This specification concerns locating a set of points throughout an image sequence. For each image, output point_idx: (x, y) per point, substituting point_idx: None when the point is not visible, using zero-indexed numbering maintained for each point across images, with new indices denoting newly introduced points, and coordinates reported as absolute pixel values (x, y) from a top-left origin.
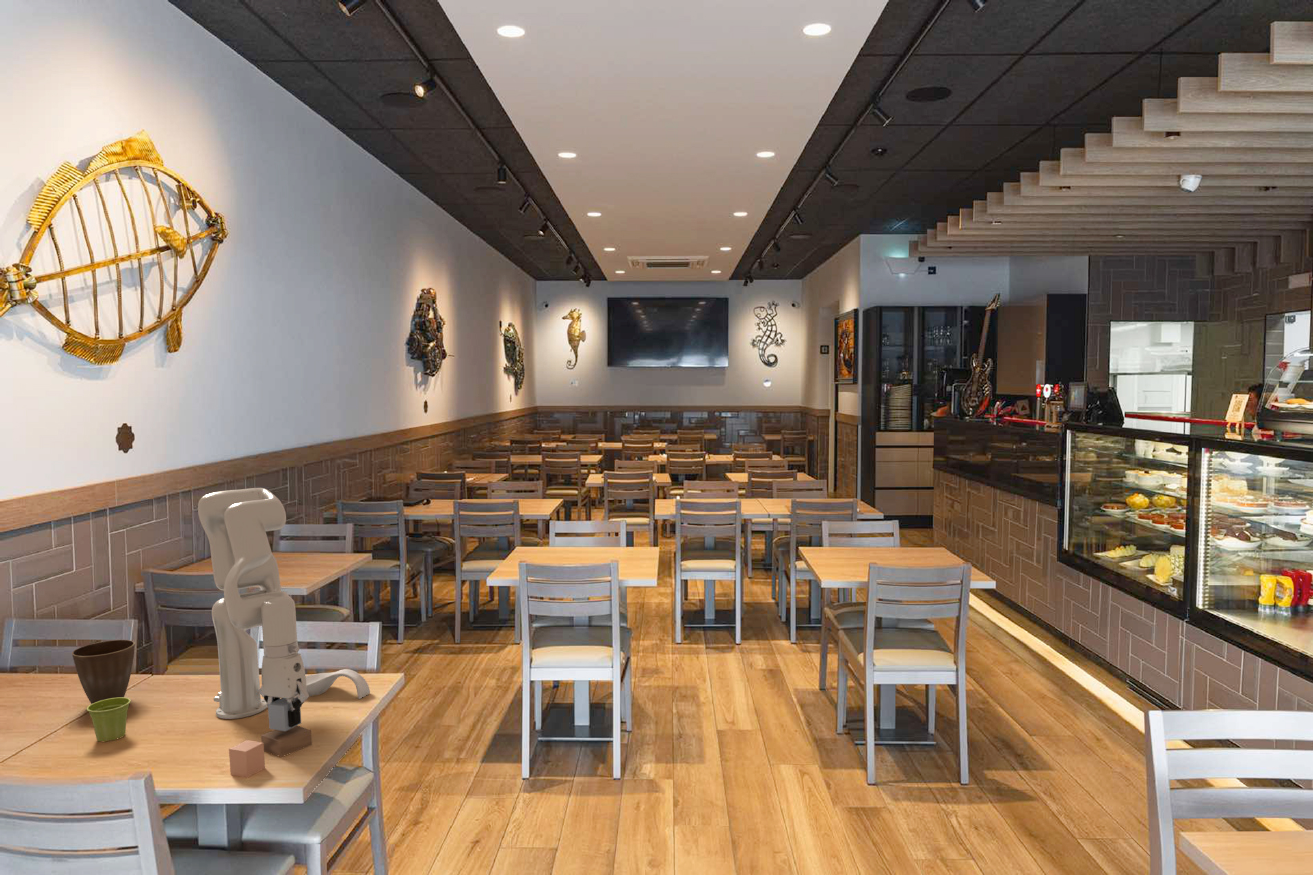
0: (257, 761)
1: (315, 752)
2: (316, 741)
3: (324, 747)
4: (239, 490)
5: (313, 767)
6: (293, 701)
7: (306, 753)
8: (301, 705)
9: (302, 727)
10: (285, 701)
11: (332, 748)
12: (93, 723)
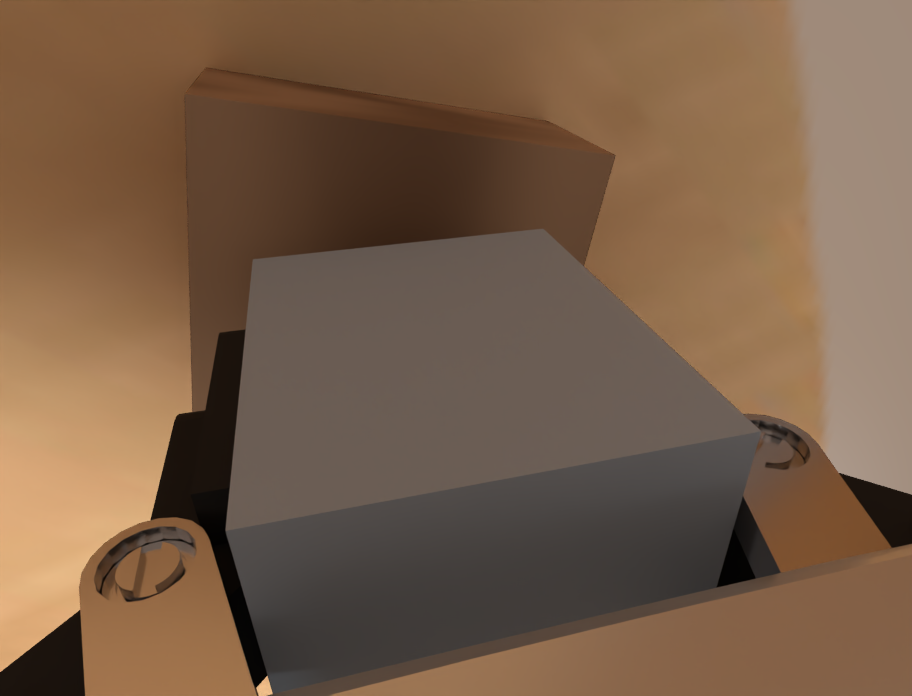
0: None
1: (681, 230)
2: (541, 39)
3: (699, 124)
4: None
5: (792, 387)
6: (699, 556)
7: (624, 271)
8: (800, 438)
9: (462, 138)
10: (532, 628)
11: (776, 113)
12: None
